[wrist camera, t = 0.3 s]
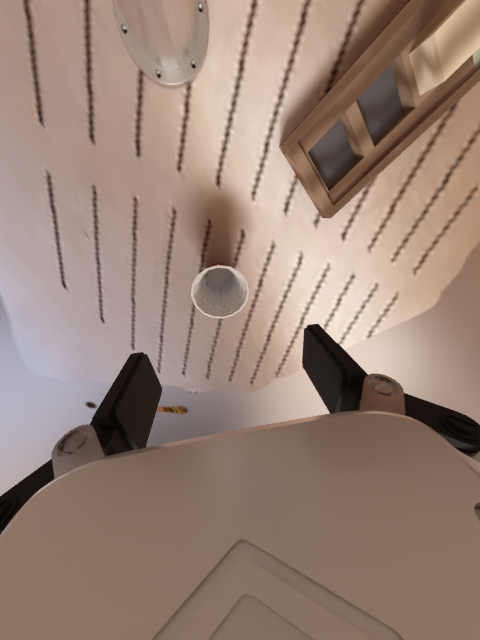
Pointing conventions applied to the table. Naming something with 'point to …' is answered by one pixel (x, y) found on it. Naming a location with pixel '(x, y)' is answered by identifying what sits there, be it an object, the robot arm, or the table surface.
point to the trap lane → (374, 111)
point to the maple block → (447, 46)
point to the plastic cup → (220, 291)
